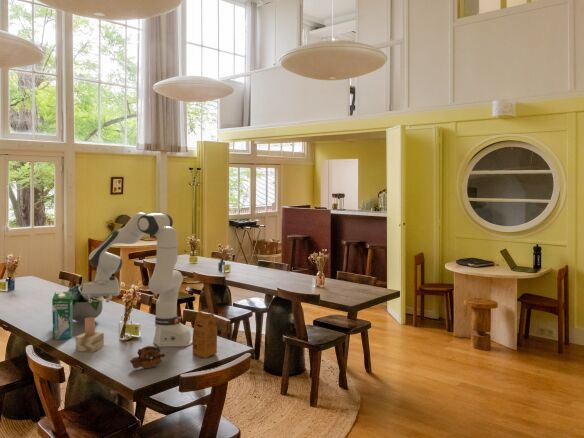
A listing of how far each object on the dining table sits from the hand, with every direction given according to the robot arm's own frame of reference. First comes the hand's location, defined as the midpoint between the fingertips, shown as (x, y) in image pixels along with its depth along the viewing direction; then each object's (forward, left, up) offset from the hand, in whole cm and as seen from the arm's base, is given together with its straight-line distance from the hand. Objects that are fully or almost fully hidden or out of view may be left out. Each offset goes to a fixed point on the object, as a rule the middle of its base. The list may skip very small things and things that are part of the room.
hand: (98, 302), depth 279 cm
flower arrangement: (+25, -28, -21) cm, 43 cm away
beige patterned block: (-4, +16, -21) cm, 26 cm away
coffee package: (-66, +14, -21) cm, 70 cm away
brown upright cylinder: (-4, +16, -14) cm, 21 cm away
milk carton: (+21, +1, -21) cm, 30 cm away
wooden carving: (-46, +37, -21) cm, 62 cm away
